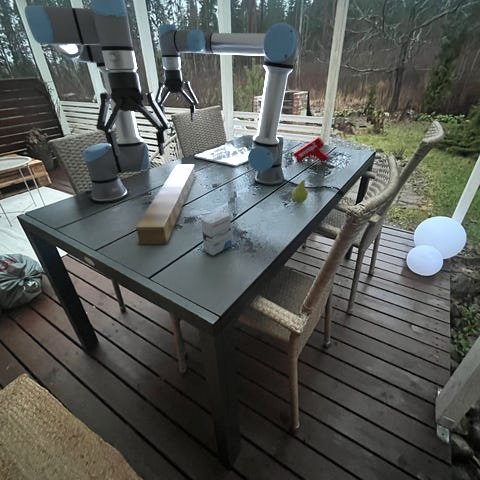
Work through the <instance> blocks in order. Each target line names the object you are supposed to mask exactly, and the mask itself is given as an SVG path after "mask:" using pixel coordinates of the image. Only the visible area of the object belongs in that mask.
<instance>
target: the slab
mask: <svg viewBox="0 0 480 480" xmlns="http://www.w3.org/2000/svg"><path fill="white" fill-rule="evenodd" d="M195 178H196V170H195V164H176V166H175V167H174V169H173V170H172V172H171V173H170V175H169V176H168V178H167V179H166V180H165V182H164V184H163V186H161V188H160V190H159V191H158V193H157V195H156V196H155V197H154V199H153V200H152V202H151V203H150V205H149V207H148V208H147V210H146V211H145V213H144V214H143V216H142V217H141V219H140V220H139V221H138V223H137V225H136V226H135V229H136V233H137V237H138V241H139V244H141V245H142V244H143V245H146V244H147V245H150V244H151V245H153V244H154V245H156V244H157V245H163V244H164V245H166V244H168V242H169V239H170V236H171V234H172V233H173V230H174V227H175V226H176V225H175V224H176V222H177V220H178V218H179V216H180V213H181V211H182V208H183V206H184V204H185V201H186V199H187V197H188V195H189V192H190V190H191V187H192V185H193V183H194V180H195Z"/></svg>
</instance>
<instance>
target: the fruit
mask: <svg viewBox="0 0 480 480" xmlns="http://www.w3.org/2000/svg"><path fill="white" fill-rule="evenodd" d="M310 177H311V175H310V174H309V175H308V176H307V177H305V179H302V180H301V181H300V182H298V183H297V184H298V186H295V187H294V188H293V190H292V191H291V198H292V200H293V201H294V202H295V203H297V204H301V203H304V202H305V201H306V200H307V198H308V196H309V195H308V189H306V188H305V186H306V184H305V183H306V180H308V179H309V178H310Z"/></svg>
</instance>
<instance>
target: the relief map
mask: <svg viewBox="0 0 480 480" xmlns="http://www.w3.org/2000/svg"><path fill="white" fill-rule="evenodd" d="M249 152H250V150H249V149H248V148H247V147H246V146H243V147H241V148H237V147H234V145H233V144H232V143H227V142H226V143H224V144H223V145H220V146H219V147H215V148H212V149H209V150H206V149H205V151H202V152H201V153H198V154H195V155H194V158H197V159H202V160H206V161H210V162H213V163H218V164H223V165H226V166H227V165H228V166H232V167H238V166H241V165H242V164H246V163H249V162H248V154H249Z"/></svg>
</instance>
